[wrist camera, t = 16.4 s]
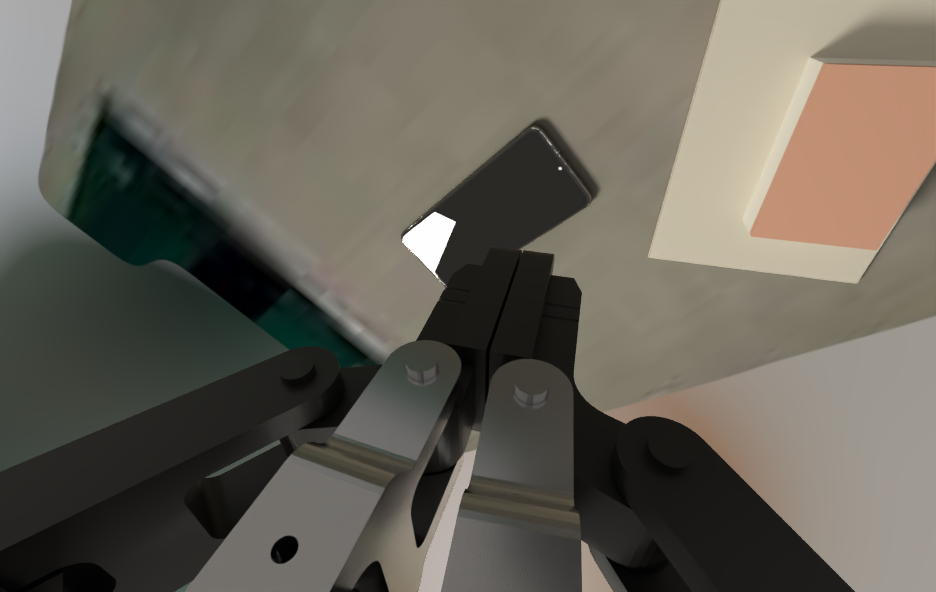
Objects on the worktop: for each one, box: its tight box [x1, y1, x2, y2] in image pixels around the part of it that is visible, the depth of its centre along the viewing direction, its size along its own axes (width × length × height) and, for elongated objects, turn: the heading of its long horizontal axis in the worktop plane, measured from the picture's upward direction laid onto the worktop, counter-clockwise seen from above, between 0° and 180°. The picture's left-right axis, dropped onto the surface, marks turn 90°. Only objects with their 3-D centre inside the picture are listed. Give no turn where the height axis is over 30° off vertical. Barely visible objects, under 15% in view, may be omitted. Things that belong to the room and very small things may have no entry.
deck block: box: [742, 57, 936, 251], centre depth 25 cm, size 10×2×7 cm
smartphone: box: [401, 125, 592, 287], centre depth 35 cm, size 7×1×16 cm
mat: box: [648, 0, 936, 284], centre depth 27 cm, size 17×14×1 cm
